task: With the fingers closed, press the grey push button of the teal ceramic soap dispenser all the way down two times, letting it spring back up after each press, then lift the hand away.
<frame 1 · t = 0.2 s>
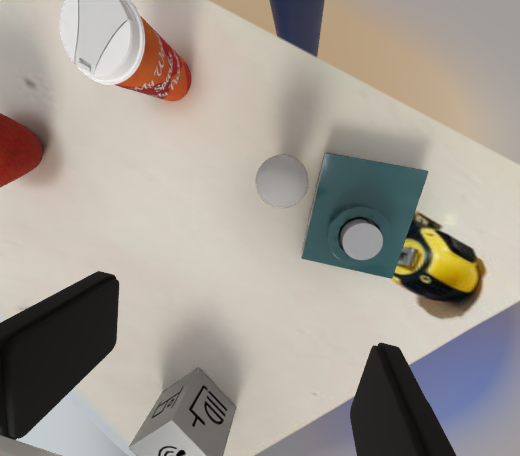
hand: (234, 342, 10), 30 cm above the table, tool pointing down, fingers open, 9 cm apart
dispenser: (355, 213, 37), on the table
light bulb: (285, 177, 37), on the table
paper cup: (172, 78, 36), on the table
grey push button: (360, 239, 32), point 6 cm above the table, slide at 0.1 cm
apple: (33, 148, 42), on the table
icon cube: (198, 398, 49), on the table
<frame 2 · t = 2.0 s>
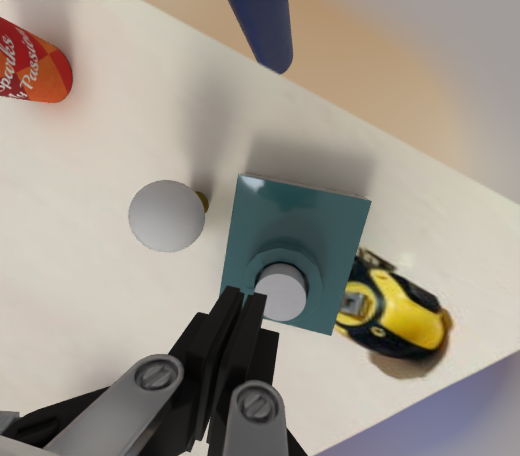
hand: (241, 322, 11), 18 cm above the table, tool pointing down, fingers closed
dispenser: (288, 249, 29), on the table
light bulb: (200, 202, 29), on the table
paper cup: (50, 74, 28), on the table
grey push button: (280, 291, 24), point 6 cm above the table, slide at 0.1 cm
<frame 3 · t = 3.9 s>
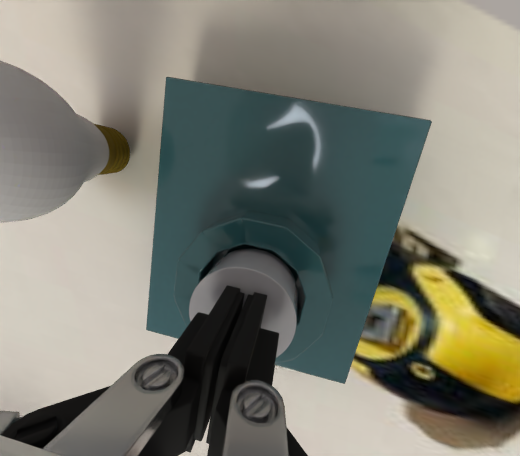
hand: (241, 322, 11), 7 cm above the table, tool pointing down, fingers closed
dispenser: (270, 229, 17), on the table
light bulb: (120, 151, 17), on the table
grey push button: (246, 303, 12), point 6 cm above the table, slide at -0.1 cm, touching gripper
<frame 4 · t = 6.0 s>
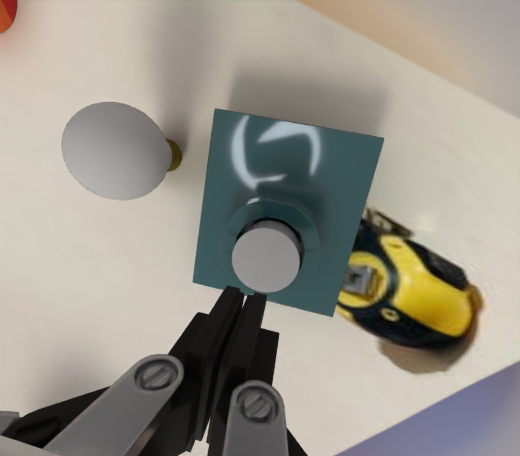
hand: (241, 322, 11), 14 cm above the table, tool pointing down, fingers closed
dispenser: (280, 211, 23), on the table
light bulb: (172, 155, 24), on the table
grey push button: (267, 255, 18), point 6 cm above the table, slide at 0.1 cm
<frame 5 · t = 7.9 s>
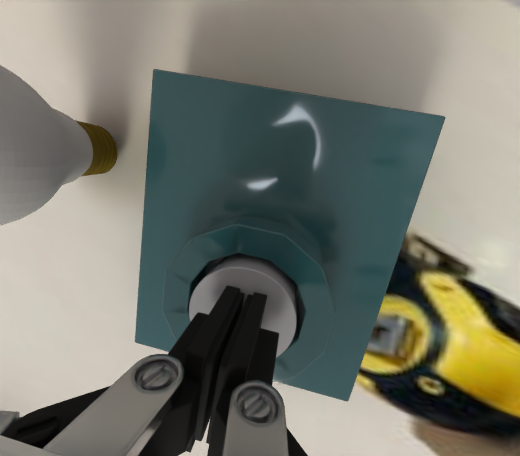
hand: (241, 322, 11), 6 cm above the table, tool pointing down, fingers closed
dispenser: (268, 234, 16), on the table
light bulb: (108, 150, 16), on the table
grey push button: (246, 303, 12), point 4 cm above the table, slide at -1.3 cm, touching gripper
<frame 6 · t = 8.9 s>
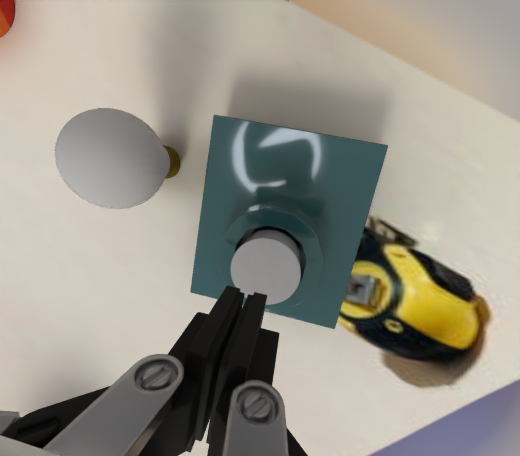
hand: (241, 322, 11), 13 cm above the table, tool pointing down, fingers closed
dispenser: (280, 219, 23), on the table
light bulb: (171, 162, 23), on the table
grey push button: (267, 265, 18), point 6 cm above the table, slide at 0.1 cm
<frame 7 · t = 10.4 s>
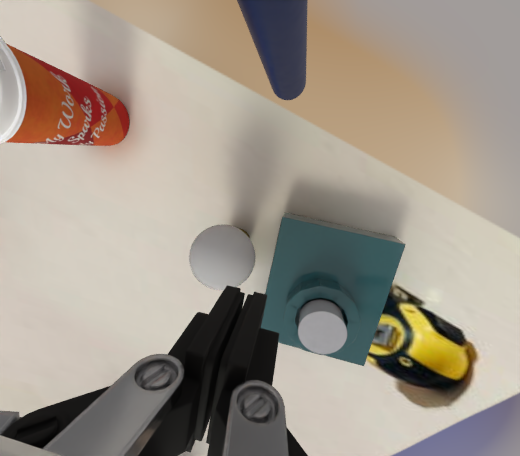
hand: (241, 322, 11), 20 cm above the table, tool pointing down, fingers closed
dispenser: (322, 282, 31), on the table
light bulb: (240, 237, 31), on the table
paper cup: (108, 120, 31), on the table
grey push button: (321, 326, 26), point 6 cm above the table, slide at 0.1 cm
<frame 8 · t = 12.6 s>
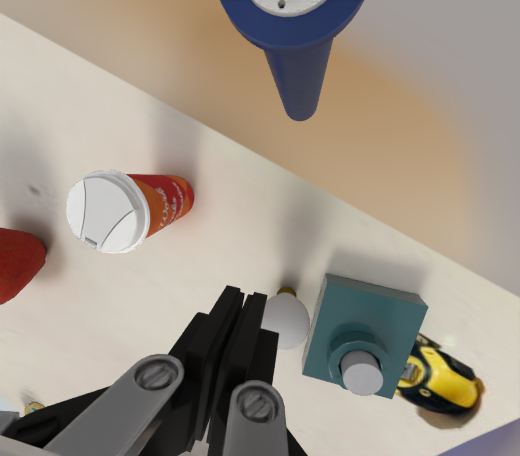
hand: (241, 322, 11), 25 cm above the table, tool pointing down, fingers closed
eyeshadow: (38, 412, 52), on the table
dispenser: (356, 329, 37), on the table
light bulb: (287, 291, 38), on the table
paper cup: (175, 195, 37), on the table
grey push button: (360, 372, 32), point 6 cm above the table, slide at 0.1 cm
apple: (36, 248, 43), on the table
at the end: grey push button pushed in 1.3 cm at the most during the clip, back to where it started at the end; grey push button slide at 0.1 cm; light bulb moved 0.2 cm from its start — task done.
